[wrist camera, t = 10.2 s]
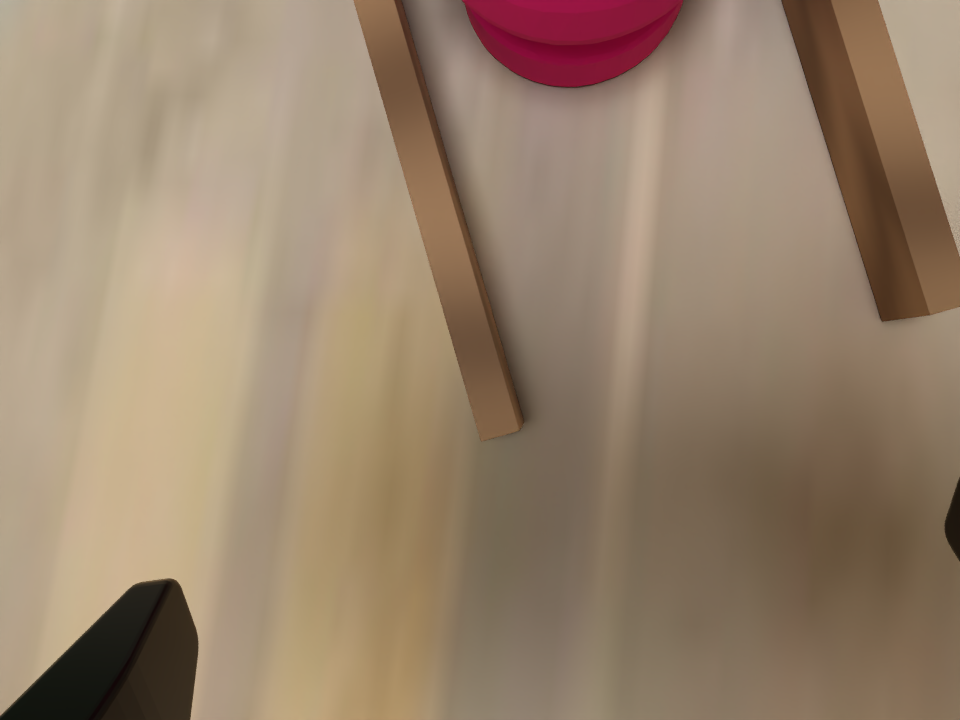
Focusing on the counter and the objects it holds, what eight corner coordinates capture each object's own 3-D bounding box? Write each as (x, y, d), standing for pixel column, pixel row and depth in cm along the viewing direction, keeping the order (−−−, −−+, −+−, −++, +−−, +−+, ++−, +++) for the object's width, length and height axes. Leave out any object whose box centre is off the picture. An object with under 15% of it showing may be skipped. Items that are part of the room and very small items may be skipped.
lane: (919, 310, 19) (1014, 296, 15) (490, 432, 20) (473, 448, 16) (729, -296, 20) (771, -463, 16) (324, -142, 21) (269, -261, 17)
